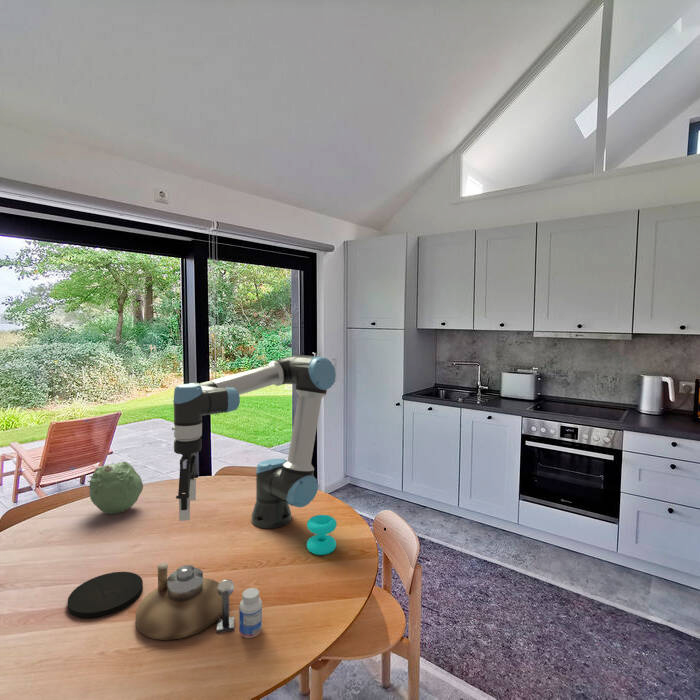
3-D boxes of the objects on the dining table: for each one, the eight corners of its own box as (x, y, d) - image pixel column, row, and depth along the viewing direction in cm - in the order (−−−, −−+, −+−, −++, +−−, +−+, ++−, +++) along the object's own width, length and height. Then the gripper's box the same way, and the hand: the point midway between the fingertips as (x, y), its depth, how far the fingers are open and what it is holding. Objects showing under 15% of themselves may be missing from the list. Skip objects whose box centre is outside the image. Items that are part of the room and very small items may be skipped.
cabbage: (150, 509, 169) (150, 461, 168) (99, 526, 154) (98, 473, 153) (132, 499, 179) (131, 453, 178) (82, 514, 164) (81, 464, 163)
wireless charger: (95, 577, 124) (95, 570, 124) (154, 579, 124) (154, 572, 124) (50, 618, 107) (50, 611, 107) (119, 621, 106) (119, 614, 106)
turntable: (228, 578, 123) (228, 551, 123) (225, 631, 102) (225, 598, 101) (146, 588, 118) (146, 560, 117) (125, 646, 96) (124, 612, 96)
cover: (204, 579, 120) (204, 558, 120) (201, 598, 111) (201, 577, 111) (170, 583, 118) (170, 562, 117) (164, 603, 109) (164, 581, 109)
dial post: (234, 619, 107) (234, 574, 107) (233, 630, 103) (234, 583, 103) (217, 621, 106) (217, 576, 106) (216, 633, 102) (216, 586, 102)
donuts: (300, 519, 141) (322, 510, 149) (300, 548, 142) (322, 538, 149) (321, 529, 135) (342, 519, 142) (320, 560, 135) (342, 548, 143)
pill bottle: (241, 623, 106) (241, 585, 105) (263, 622, 106) (263, 585, 106) (237, 639, 100) (237, 600, 100) (260, 638, 101) (260, 599, 100)
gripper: (180, 428, 133) (180, 493, 134) (165, 451, 109) (166, 531, 110) (205, 427, 135) (205, 492, 136) (196, 449, 111) (196, 528, 112)
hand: (187, 509), depth 123 cm, fingers open, 13 cm apart
